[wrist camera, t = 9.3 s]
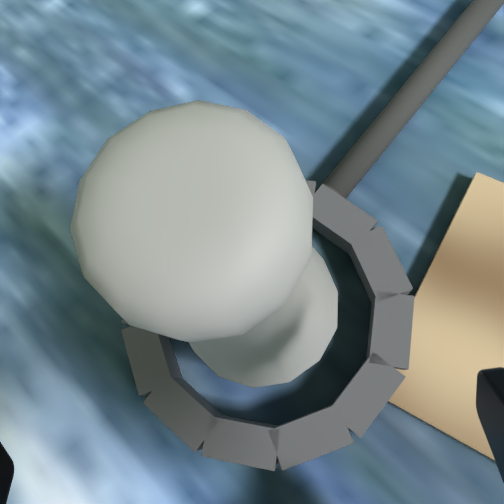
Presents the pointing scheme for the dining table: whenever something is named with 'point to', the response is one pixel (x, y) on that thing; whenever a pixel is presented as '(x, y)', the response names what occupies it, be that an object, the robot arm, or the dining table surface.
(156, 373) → the grey ring with rod
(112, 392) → the dining table surface
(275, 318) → the salt shaker
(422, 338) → the coaster
